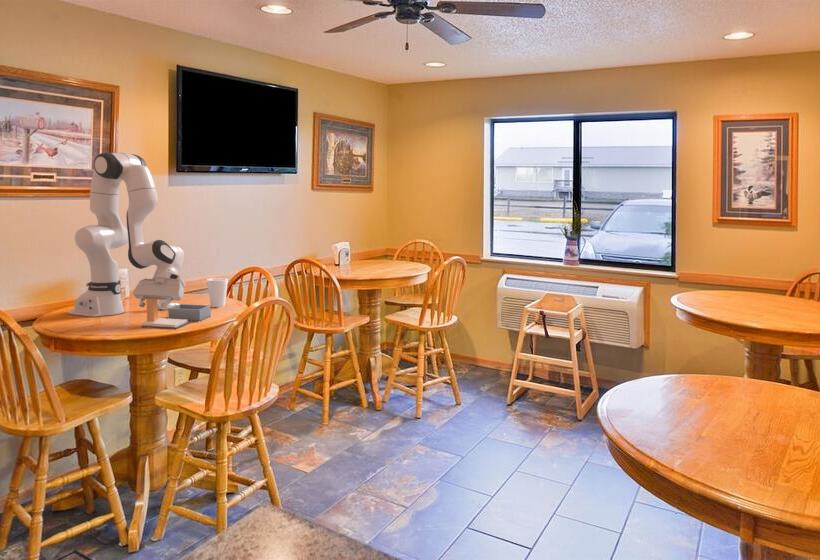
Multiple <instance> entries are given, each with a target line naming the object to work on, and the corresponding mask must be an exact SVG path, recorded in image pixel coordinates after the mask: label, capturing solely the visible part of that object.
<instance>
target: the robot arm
mask: <svg viewBox="0 0 820 560" xmlns="http://www.w3.org/2000/svg"><path fill="white" fill-rule="evenodd" d="M93 169H94V170H93V173H92V176H91V181H90V190H89V191H90V193H89V210H90V212H91V213H92V214H94V216H95V217H96V220H97V224H93V225H92V224H91V225H86V226H83V227H81V228H79V229H77V230H76V232H75V234H74V242H75V243H74V244H75V245H76V246H77V248H78V249H80V250H82V252H83V253H84V254H85V257H86V258H87V261H88V264H89V269H90V270H89V271H90V282H88V283H86V284H85V287H87V289H86V291H85V292H83V293H82V294H81V295H80V296H78V297H77V298H76V299H75V300H74V308H72V309H70V310H69V311H68V314H69V315H76V316H81V317H82V316H84V317H92V318H95V317H103V316H113V315H119V314H123V313H125V312H126V310H125V307H124V304H123V300H122V296H121V295H122V294H121V292H122V285H121V283H122V282H121V280H120V272H119V271H120V269H119V267H120V266H119V263H118V261H116V259H114V258H113V257H112V255H111V253H110V250H112V249H113V250H114V249H118V248H121V247H123V246H126V245H127V244H128V249H127V251H128V252H127V257H128V258H127V259H128V261H129V263H130V264H131V265H132V266H134V267H135V268H136V269H139V270H142V269H146V268H148V267H151V266H156V270H155V271H154V274H153V276H152V278H143V279H141V280H139V281H138V283H137V285H136V287H135V288H134V290H133V291H132V294H133V296H134V297H135V298H136V299H138V300H139V303H138V304H139V305H138V306H139V307H140V308H145V306H146V303H145V301H146V299H150V298H156V299H157V301H159V300H166V301H165V302H164V303H162V305H161V307H162V308H166V307H167V305H168V304H170V303H172V301H178V302H179V301H180V300H182V299H183V297H184V294H185V288H186V283H185V281H184V279H183V278H182V277H181V275H178V274H179V272H180V271H181V269H182V268H183V264H184V261H185V252H184V250H183V249H182V248H181V247H180V246H177V244H176V245H174V244H172V245H171V244H168V243H167V242H166V241H165V240H162V239H157V240H151V241H149V242H145V240H144V230H143V228H144V227H143V223H144V221H145V219H146V218H147V217H148V215H150V214H151V213H152V212H153V211H154V210H155V209H156V207H157V205H158V203H159V195H158V192H157V187H156V184H155V181H154V178H153V176H152V172H151V170H150V169H149V167H148V166H147V163H146V161H145V159H144V158H143V157H141V156H139V155H137V154H131V153H125V152H108V151H107V152H102V153H99V154H97V155H96V156H95V158H94V160H93ZM122 181H123V182H124V183H125V185H126V191H127V195H128V206H127V207H128V208H127V210H126V216H125V217H126V218H125V219H126V227H125V225H124V224H123V222H122V220H121V216H120V211H119V210H120V204H119V203H120V184H121V183H122Z"/></svg>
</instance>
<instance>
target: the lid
mask: <svg viewBox="0 0 820 560" xmlns="http://www.w3.org/2000/svg"><path fill="white" fill-rule="evenodd" d="M145 301H146V303H145V305H146V321H144V322H142V323H141V324H142V325H141V327H142V326H160V327H177V326H179V325H182V324H184V323H186V322H189V321H188V320H186V319H169V317H168V318H166V317H165V318H164V317H159V308H158V300H157V299H156V298H150V299H145Z"/></svg>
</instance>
